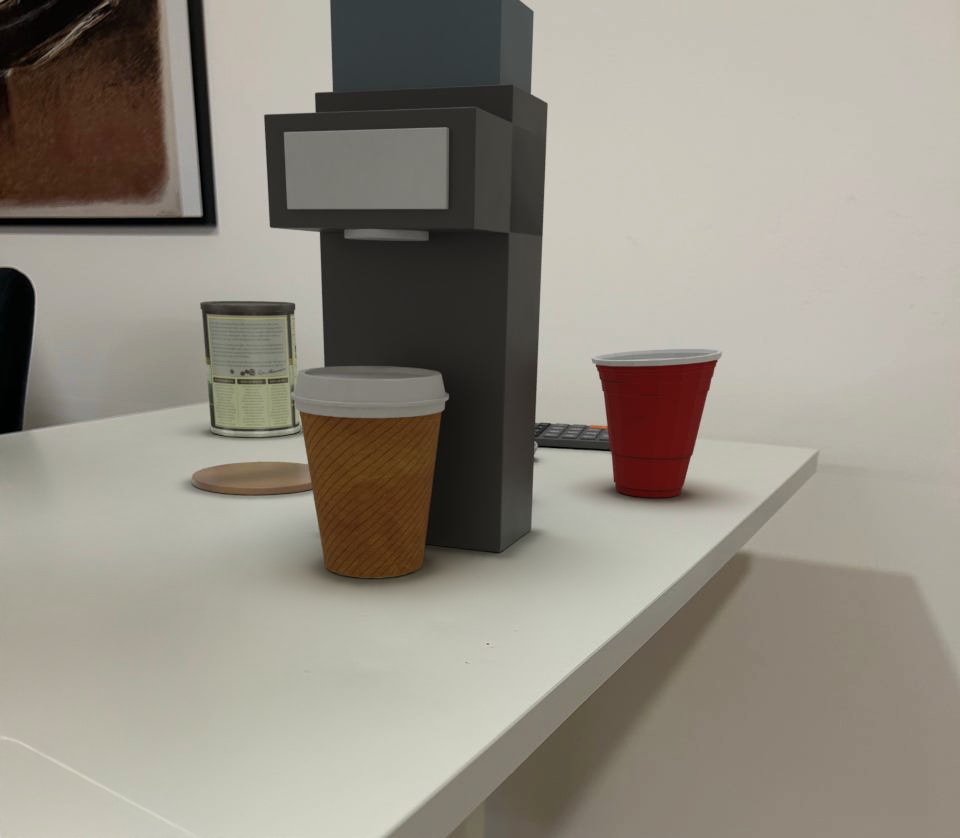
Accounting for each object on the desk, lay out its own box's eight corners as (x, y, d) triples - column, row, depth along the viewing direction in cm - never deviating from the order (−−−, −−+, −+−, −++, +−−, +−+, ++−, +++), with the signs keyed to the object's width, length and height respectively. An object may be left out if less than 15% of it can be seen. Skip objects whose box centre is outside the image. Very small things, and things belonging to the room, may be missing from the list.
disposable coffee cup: (308, 591, 58) (299, 381, 53) (291, 549, 66) (282, 365, 62) (465, 581, 60) (467, 379, 56) (428, 541, 69) (428, 364, 65)
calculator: (619, 441, 105) (482, 433, 108) (618, 449, 105) (482, 442, 108) (627, 425, 116) (503, 419, 119) (627, 433, 116) (502, 427, 119)
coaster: (162, 483, 85) (161, 476, 85) (257, 463, 95) (257, 456, 95) (267, 501, 80) (267, 493, 80) (357, 477, 90) (357, 471, 89)
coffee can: (194, 428, 114) (184, 300, 109) (274, 421, 121) (267, 300, 116) (235, 440, 107) (226, 304, 102) (317, 432, 113) (312, 303, 108)
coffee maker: (465, 578, 61) (475, -53, 49) (282, 554, 65) (251, -32, 53) (531, 529, 73) (551, 11, 61) (372, 512, 77) (363, 24, 65)
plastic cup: (584, 476, 92) (592, 343, 88) (701, 481, 91) (715, 346, 87) (583, 501, 82) (591, 352, 78) (714, 507, 81) (730, 356, 77)
